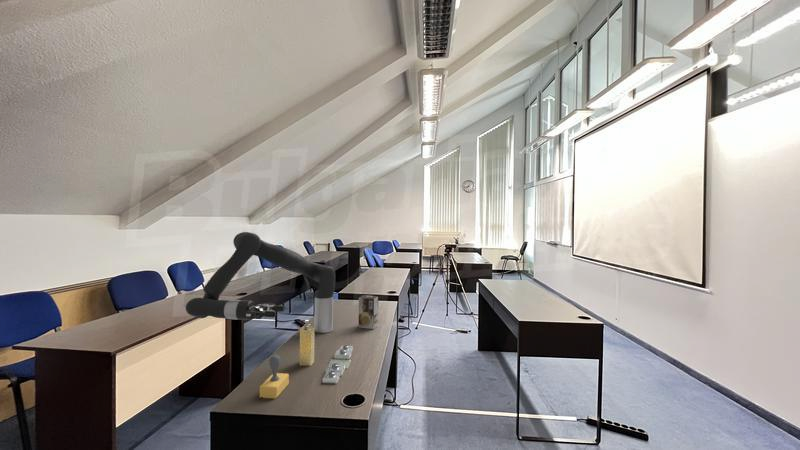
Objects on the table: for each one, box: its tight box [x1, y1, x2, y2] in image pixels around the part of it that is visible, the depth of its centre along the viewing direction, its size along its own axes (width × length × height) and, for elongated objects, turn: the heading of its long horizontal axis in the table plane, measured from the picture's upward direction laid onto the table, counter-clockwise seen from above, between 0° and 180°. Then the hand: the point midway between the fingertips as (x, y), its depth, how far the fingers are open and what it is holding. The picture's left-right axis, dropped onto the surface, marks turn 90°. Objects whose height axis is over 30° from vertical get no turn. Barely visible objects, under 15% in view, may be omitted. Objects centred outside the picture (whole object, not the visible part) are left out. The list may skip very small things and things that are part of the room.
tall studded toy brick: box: [299, 323, 316, 367], centre depth 138 cm, size 4×4×15 cm
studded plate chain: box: [322, 344, 354, 384], centre depth 137 cm, size 32×8×3 cm, turn 178°
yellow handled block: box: [259, 354, 290, 400], centre depth 116 cm, size 10×6×12 cm, turn 175°
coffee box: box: [358, 294, 379, 330], centre depth 185 cm, size 9×6×16 cm
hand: (279, 311), depth 138 cm, fingers open, 8 cm apart
